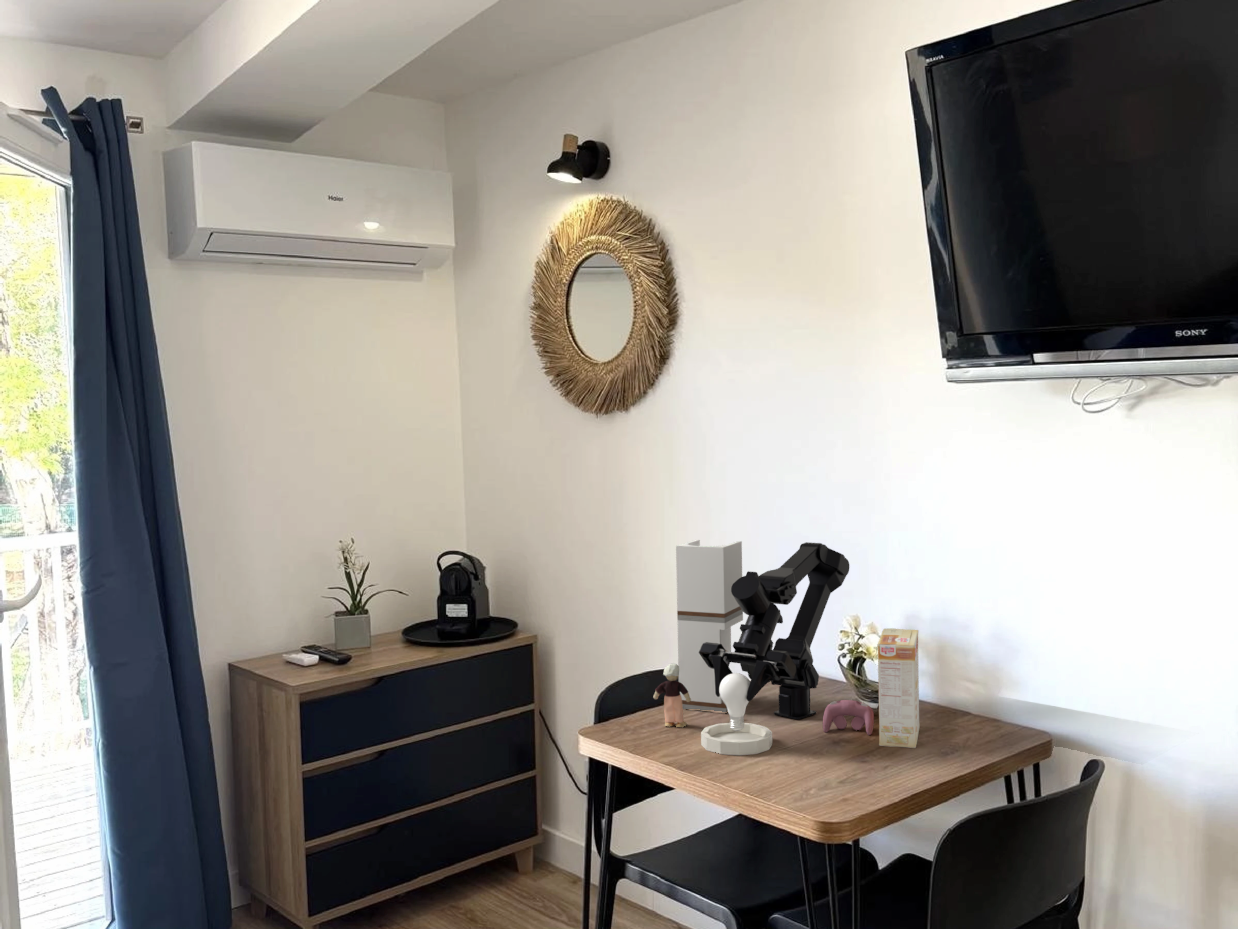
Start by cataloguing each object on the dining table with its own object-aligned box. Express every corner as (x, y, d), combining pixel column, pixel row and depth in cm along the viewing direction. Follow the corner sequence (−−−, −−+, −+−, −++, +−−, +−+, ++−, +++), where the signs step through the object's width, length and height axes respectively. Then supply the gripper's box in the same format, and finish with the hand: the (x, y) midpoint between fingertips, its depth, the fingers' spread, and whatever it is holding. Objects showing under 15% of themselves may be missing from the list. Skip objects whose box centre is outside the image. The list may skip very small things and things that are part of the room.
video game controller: (874, 739, 221) (875, 703, 223) (872, 734, 217) (873, 698, 220) (823, 735, 224) (825, 700, 227) (820, 731, 220) (822, 695, 223)
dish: (733, 730, 223) (733, 718, 223) (785, 744, 213) (785, 731, 213) (688, 745, 214) (688, 732, 214) (740, 759, 205) (739, 746, 204)
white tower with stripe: (726, 714, 235) (723, 547, 234) (679, 709, 240) (676, 545, 238) (744, 700, 246) (741, 541, 244) (698, 696, 250) (696, 539, 249)
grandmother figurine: (692, 723, 229) (690, 661, 229) (691, 728, 225) (690, 665, 225) (654, 722, 230) (653, 661, 229) (653, 728, 226) (651, 665, 226)
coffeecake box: (883, 724, 225) (882, 627, 224) (920, 726, 223) (919, 629, 222) (877, 746, 211) (876, 643, 210) (916, 748, 209) (915, 644, 208)
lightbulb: (725, 725, 218) (723, 669, 217) (757, 727, 216) (755, 670, 215) (716, 734, 212) (714, 676, 211) (749, 736, 210) (747, 678, 209)
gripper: (815, 657, 220) (791, 727, 212) (732, 647, 231) (706, 713, 223) (797, 624, 213) (771, 695, 205) (711, 616, 224) (684, 683, 216)
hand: (732, 698), depth 212 cm, fingers closed on lightbulb, 6 cm apart
